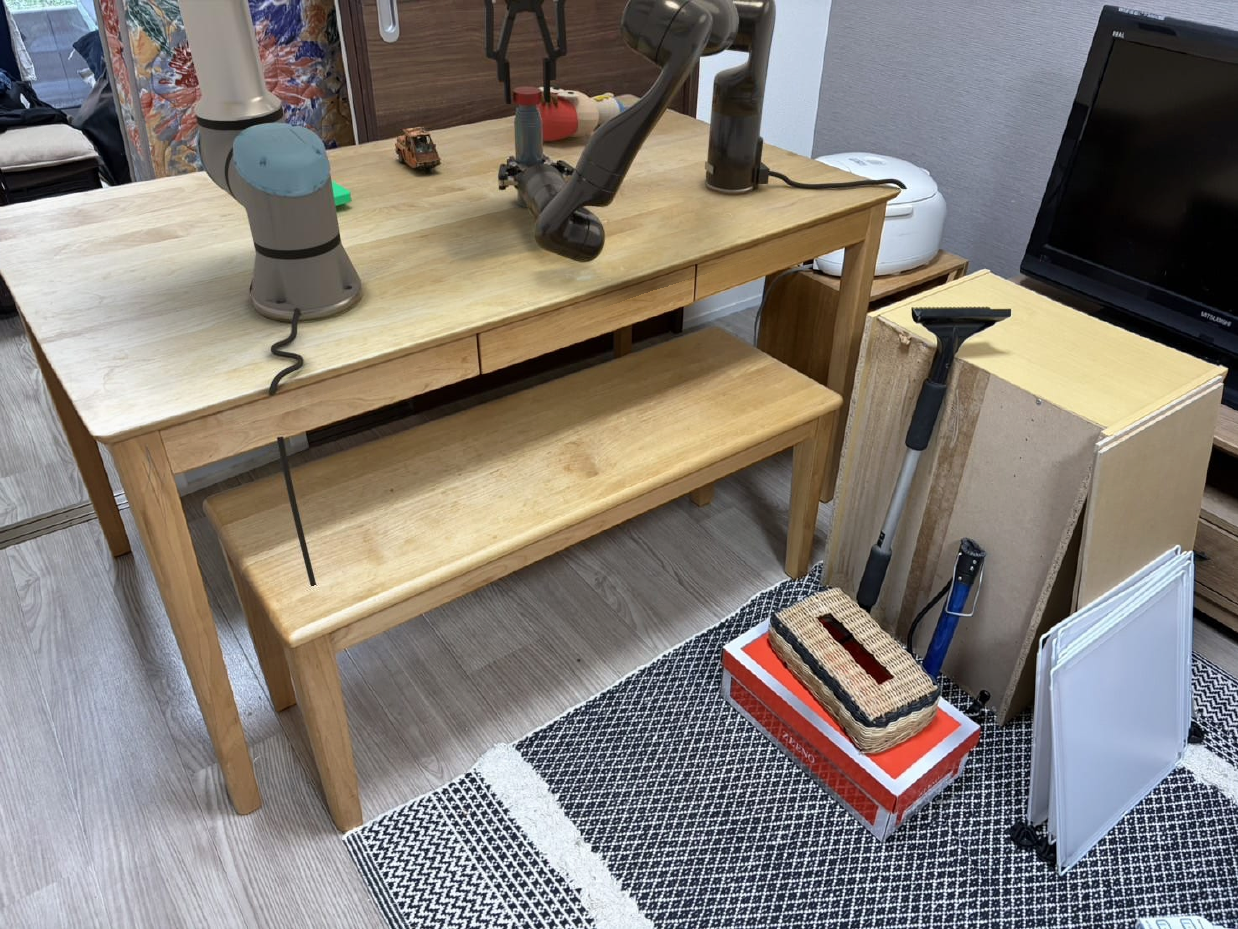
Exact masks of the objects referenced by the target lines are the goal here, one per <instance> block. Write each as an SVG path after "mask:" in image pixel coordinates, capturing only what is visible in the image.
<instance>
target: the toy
mask: <svg viewBox="0 0 1238 929" xmlns="http://www.w3.org/2000/svg"><path fill="white" fill-rule="evenodd" d="M538 88H539V89H540V90H541V95H542V101H541V103H540V104H538V108H539V112H540V115H541V118H542V127H543V142H553V141H558V140H563V139H566V138H569V137H572V138H580V137H581V138H582V137H585V136H588V135H590V134H591V133H592V132H593V131H595V129H597V126H601V125H602V124H603V123H605V122H606V121H608V120H609V119H611V118H612V117H614V116H615V115H617V114H619V113H620V112H622V111H624V110H625V109H627V108H628V107H629V106H624V105H623V103H622V102H621V101H620V100H619V99H617V98H615V95H614V94H613V93H611V92H605V93H604V94H600V95H596V96H592V97H590V95H589V94H587V93H583V92H581V91H578V90H568V89H567V90H566V89H565V90H564V89H562V88H560V87H554V86H553V87H552V86H550V101H551V102H549V103H546V101H545V100H544V93H543V86H539V87H538Z"/></svg>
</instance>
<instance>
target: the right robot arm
mask: <svg viewBox="0 0 1238 929" xmlns="http://www.w3.org/2000/svg"><path fill="white" fill-rule="evenodd" d="M776 17H777V5H776V1H775V0H628V1H627V3H626V5H625V7H624V10H623V11H622V17H621V20H620V35H621V38H622V40H623V42H624V43H625V44H624V45H625V46H627V47H628V48H629V49H630V50H631V51H632V52H633V53H635V54H636V55H639V57H641V58H643V59H644V60H646V61H647V62H649V63H650V64H652V65H654V66H655V67H657V68H658V69H660V70H661V73H659V74H660V75H659V76H658V78H657V79H656V81H655V82H654V84H653V85H652V86H651V88H650V89H649V90H648V91H647V92H646V93H645V94H644V95H643V96H642V97H641V98H640V99H638V100H637V101H635V102H634V103H632V104H631V105H630V106H627V107H628V108H627V109H624V111H622V112H620V113H619V114H617V115H615V116H614V117H612V118H611V119H609V120H608V121H606V122H605V123H603V124H602V125H599V126H598V127H597V128H596V130H594V132H593V133H592V134H591V136H590V137H589V138H588V141H587V143H586V144H585V146H584V149H583V150H582V153H581V155H580V157H579V160H578V161H577V162H576V165H575V167H573V166H572V165H570V164H569V163H567V162H566V161H564V160H562V159H559V160H556V162H554V161H553V159H551V158H550V157H549V156H547V155H545V154H544V153H543V164H536V165H533V166H531V167H528V166H526V165H524V164H517V161H516V157H515V156H514V155H509V157H508V158H507V159H506V163H501V164H499V168H498V173H497V181H498V184H497V185H498V190H500V191H506V190H507V188H509V187H511V186H512V187H514V188H515V189H516V190H517V189H518V190H519V191H520V193H521V196H522V198H523V200H524V201H525V204H526V206H527V207H526V208H527V209H528V212H530V214H531V215H532V216H533V217H534V219H535V221H536V222H535V224H534V230H533V234H534V240H535V242H536V245H537V246H538V247H539V248H540V249H542V250H544V251H545V252H549V253H551V254H555V255H556V256H557V255H558V256H561V257H563V258H565V259H568V260H572V261H574V262H577V263H583V264H584V263H585V264H586V263H590V262H592V261H594V260H596V259H597V258H598V257H599V256H600V254H601V253H602V251H603V249H604V247H605V243H606V231H605V228H604V225H603V223H602V221H601V220H600V219H599V217H598V216H597V215H596V214H594V213H593V212H592V211H590V209H588V208H586V207H594V208H595V207H596V208H606V207H608V206H610V205H612V203H613V201H614V200H615V197H616V196H617V194H618V192H619V190H620V187H622V184H623V182H624V180H625V178H626V176H627V174H628V173H629V170H630V168H631V166H632V164H633V162H634V160H636V157H637V155H638V153H639V152H640V150H641V148H642V147H643V145H644V144H645V142H646V141H647V139H648V137H649V136H650V135H651V133H652V131H653V130H654V129H655V127H656V126H657V124H658V123H659V122H660V120H661V119H662V117H663V115H664V114H665V112H667V109H668V108H669V106H670V105H671V104H672V102H673V100H674V99H675V97H676V96H677V94H678V92H679V91H680V89H681V88H682V87H683V85H684V83H685V82H686V80H687V79H688V77H689V76H690V74H691V73H692V72H693V69H694V68H695V67H696V65H697V63H698V61H699V60H700V58H707V57H712V56H717V55H719V54H721V53H723V52H724V51H731V52H739V53H745V54H746V53H747V54H748V58H747V60H746V62H744V63H742V64H740V65H738V66H734V67H730V68H726V69H723V70H720V71H719V72H717V73H716V74H715V76H714V78H713V86H712V98H711V111H710V122H709V135H708V147H707V158H706V159H707V160H705V161H704V162H705V163H704V169H705V170H706V171H705V179H704V186H705V187H706V188H707V189H708V190H709V191H711V192H715V193H719V194H724V195H743V194H748V193H750V192H752V191H757V190H758V189H759V186H760V185H768V184H769V177H773V178H777V179H780V180H782V181H783V182H784V183H786V184H787V185H788V186H790V187H793V188H797V189H804V190H825V189H845V188H855V187H860V186H861V187H862V186H878V185H887V184H888V185H889V184H891V185H896V186H897V187H898V188H900V190H907V189H908V188H907V186H906V184H905V183H904V182H902V181H901V180H899V179H896V178H881V179H865V180H864V179H863V180H855V181H854V180H853V181H847V182H828V183H826V182H825V183H802V182H797V181H794V180H791V179H790V178H789V177H788V176H786V175H785V174H783V173H781V172H777V171H774V170H770V167H769V166H767V165H766V164H765V163H763V162H762V156H763V148H764V138H763V137H762V136H761V129H762V128H761V127H762V118H763V110H764V109H763V108H764V101H765V92H766V85H767V79H768V78H767V77H768V71H769V63H770V55H771V50H772V44H773V37H774V32H775V27H776V26H775V25H776Z"/></svg>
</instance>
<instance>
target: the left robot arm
mask: <svg viewBox="0 0 1238 929" xmlns="http://www.w3.org/2000/svg"><path fill="white" fill-rule="evenodd" d="M482 1H483V4H484V54H485V56H486V58H487V59H491V60H494V61H495V63H496V65H495V66H496V77H497V80H498V82H499V83H503V92H504V102H505V103H506V105H512V93H511V92H512V91H511V90H512V89H511V88H512V87H511V68H510V61H509V59H508V58H506V56H507V52H508V47H509V44H510V39H511V35H512V31H513V28H514V27H513V26H514V23H515V21H516V17H517V14H521V13H525V12H527V13H533V15H534V17H535V20H536V24H537V27H538V30H539V33H540V37H541V40H542V43H543V46H544V49H545V53H546V56H547V57H542V87H543V93H544V100H545V101H546V103H549V102H551V101H550V87H551V81H556V80H557V61H558V59H559V58H561V57H565V56H567V55H568V45H567V44H568V43H567V30H566V28H567V27H566V15H565V14H566V13H565V4H566V1H567V0H552V2H553V3H554V4H553V5H554V8H553V9H554V20H555V35H556V46H557V47H555V46H554V43H553V40H552V37H551V34H550V30H549V27H548V24H547V20H546V18H545V13H544V10H543V6H542V5H543V4H544V2H545V1H546V0H503V1H504V3H505V4H506V7H505V13H504V17H503V22H502V26H501V30H500V35H499V39H498V43H497V47H496V49H495V48H494V43H495V41H494V40H495V39H494V38H495V37H494V35H495V34H494V33H495V9H494V4H496V2H497V0H482ZM177 4H178V8H179V12H180V16H181V20H182V23H183V28H184V32H185V34H186V35H185V36H186V40H187V43H188V47H189V50H190V54H191V57H192V58H191V59H192V63H193V66H194V70H195V73H196V77H197V82H198V84H199V89H200V93H201V97H200V98H199V100H198V101H197V103H196V104H195V106H194V108H193V113H194V116H195V119H196V124H197V128H198V130H197V134H196V142H195V144H196V145H195V146H196V147H195V148H196V152H197V156H198V159H199V162H200V164H201V166H202V167H203V170H204V172H205V173H206V174H207V176H208V177H209V178H210V179H211V181H212V182H213V183H214V184H215V185H216V186H218V188H220V189H221V190H223V191H224V192H226V193H227V194H228V195H229V196H231V197H232V198H233V199H234V200H235V201H236V202H237V203H239V204H240V205H241V206H242V207H243V208H244V209H245V213H246V215H247V219H248V220H247V221H248V224H249V228H250V234H251V237H252V238H251V239H252V242H253V247H254V251H255V258H254V264H253V273H252V279H251V282H250V285H249V294H250V295H251V299H252V303H253V307H254V309H255V310H256V311H257V313H259V314H260V315H262V316H264V317H266V318H268V319H271V320H275V321H281V322H289V323H291V327H290V329H291V330H290V334H289V336H287V337H286V338H284V339H282V340H279V341H277V342H274V343H273V344H272V345H271V346H270V352H271V354H272V355H274V356H276V357H280V358H285V359H292V360H295V361H296V363H294V364H292V365H289V366H288V367H286V368H284V369H282V370H281V371H279V372H278V373H277V374H276V375H275V376H274V377H273V379H271V380H272V381H271V383H270V386H269V390H268V395H269V396H274V395H276V393H277V389H278V386H279V384H280V382H281V380H282V379H283V378H284V377H286V376H288V375H290V374H292V373H294V372H296V371H299V369H301V368H303V366H304V364H305V360H304V358H303V356H302V355H300V354H298V353H295V352H290V351H283V350H280V348H282V347H285V346H288V345H290V344H291V343H293V342H294V341H295V340H296V338H297V335H298V325H299V323H304V322H314V321H315V322H316V321H320V320H326V319H330V318H332V317H336V316H338V315H341V314H343V313H345V312H348V311H349V310H351V309H353V308H354V307H355V306H356V305H357V304H358V303H359V302H360V301H361V298H362V297H363V287H362V282H361V278H360V276H359V274H358V272H357V270H356V268H355V266H354V264H353V263H352V261H351V259H350V257H349V255H348V253H347V251H346V250H345V248H344V245H343V243H342V239H341V233H340V225H339V219H338V213H337V206H335V200H334V193H333V187H332V181H333V180H332V177H331V176H332V174H331V169H332V168H331V162H330V160H329V156H328V154H327V151H326V147H325V144H324V142H323V140H322V138H321V137H320V136H319V135H318V134H317V133H315V132H313V130H311V129H309V128H307V127H304V126H301V125H292V124H291V123H288V122H287V123H286V118H285V113H284V108H283V104H282V100H281V99H280V98H279V97H278V96H276V95H275V94H274V93H272V92H271V91H270V90H269V89H268V87H267V82H266V78H265V72H264V69H263V64H262V58H261V55H260V52H259V51H260V50H259V46H258V41H257V36H256V32H255V27H254V22H253V19H252V18H253V17H252V13H251V10H250V5H249V0H177ZM276 440H277V446H278V452H279V457H280V463H281V468H282V473H283V477H284V481H285V486H286V492H287V495H288V499H289V503H290V508H291V512H292V517H293V522H294V525H295V529H296V533H297V537H298V541H299V545H300V550H301V553H302V557H303V561H304V566H305V570H306V573H307V577H308V582H309V585H311V586H314V585H316V586H317V582H316V579H315V573H314V568H313V565H312V562H311V557H310V554H309V549H308V545H307V542H306V536H305V533H304V528H303V525H302V520H301V517H300V512H299V507H298V503H297V498H296V494H295V489H294V484H293V481H292V480H293V479H292V475H291V470H290V464H289V459H288V455H287V450H286V444H285V439H284V436H276ZM311 586H310V587H311Z"/></svg>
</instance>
